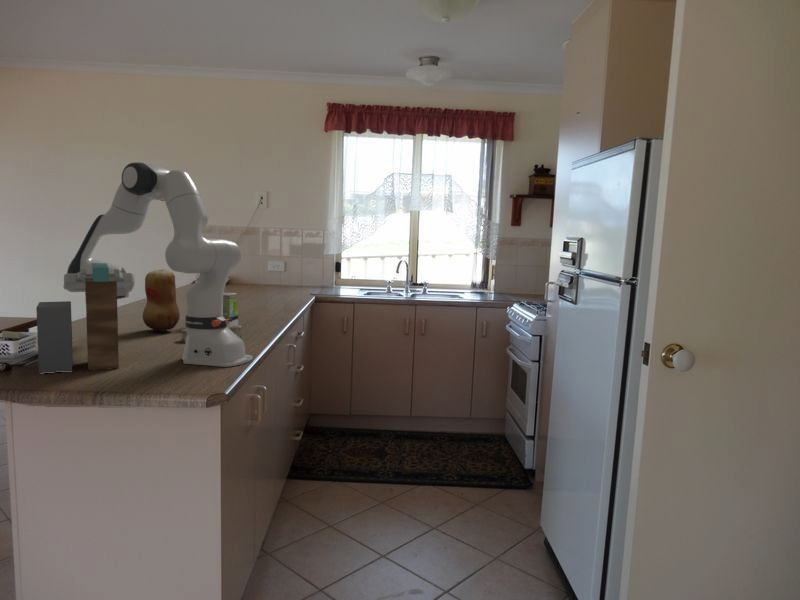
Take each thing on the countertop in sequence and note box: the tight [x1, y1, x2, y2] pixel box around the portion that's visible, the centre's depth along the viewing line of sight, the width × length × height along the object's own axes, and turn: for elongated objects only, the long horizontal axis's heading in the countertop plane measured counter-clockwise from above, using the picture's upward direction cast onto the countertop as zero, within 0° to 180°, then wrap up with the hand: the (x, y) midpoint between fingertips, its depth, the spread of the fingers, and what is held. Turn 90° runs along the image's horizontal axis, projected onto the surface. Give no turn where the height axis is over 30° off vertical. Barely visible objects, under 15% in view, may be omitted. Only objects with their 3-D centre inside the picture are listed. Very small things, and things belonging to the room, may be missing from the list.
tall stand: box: [85, 278, 120, 371], centre depth 170 cm, size 12×8×26 cm, turn 29°
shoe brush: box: [180, 324, 243, 343], centre depth 217 cm, size 24×8×5 cm, turn 133°
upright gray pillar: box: [35, 300, 74, 374], centre depth 164 cm, size 12×8×19 cm, turn 29°
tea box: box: [223, 292, 239, 325], centre depth 240 cm, size 15×10×15 cm, turn 84°
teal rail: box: [92, 262, 109, 282], centre depth 171 cm, size 20×4×4 cm, turn 29°
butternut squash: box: [142, 268, 181, 333], centre depth 226 cm, size 14×13×25 cm
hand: (100, 271), depth 178 cm, fingers open, 8 cm apart
